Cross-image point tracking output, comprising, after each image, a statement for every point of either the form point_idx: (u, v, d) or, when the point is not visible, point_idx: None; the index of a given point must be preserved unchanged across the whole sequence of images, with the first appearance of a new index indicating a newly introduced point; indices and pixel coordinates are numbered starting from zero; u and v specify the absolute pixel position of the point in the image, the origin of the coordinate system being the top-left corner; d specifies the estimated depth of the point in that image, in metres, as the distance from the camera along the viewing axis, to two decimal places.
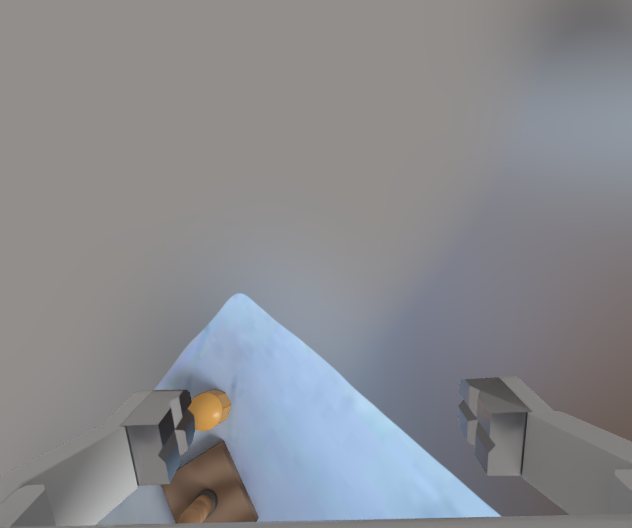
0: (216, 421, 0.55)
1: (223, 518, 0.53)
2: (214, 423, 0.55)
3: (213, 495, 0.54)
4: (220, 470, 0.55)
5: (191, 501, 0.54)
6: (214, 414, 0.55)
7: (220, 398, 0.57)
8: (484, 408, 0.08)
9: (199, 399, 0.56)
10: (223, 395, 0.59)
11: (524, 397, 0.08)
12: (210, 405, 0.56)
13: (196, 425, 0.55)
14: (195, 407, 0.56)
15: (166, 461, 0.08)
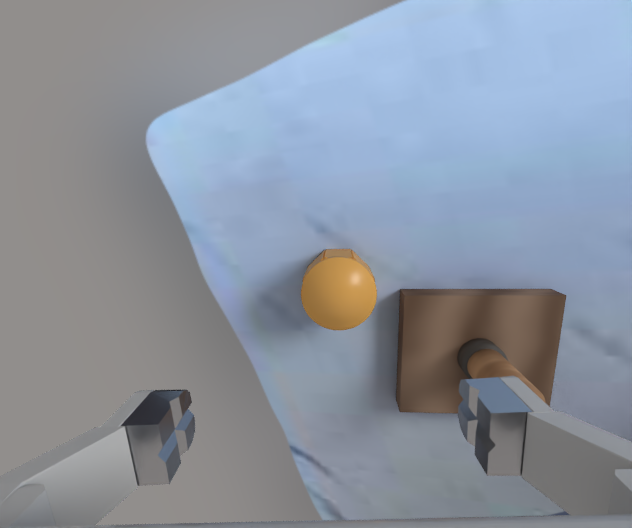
0: (370, 280, 0.25)
1: (521, 342, 0.29)
2: (371, 286, 0.25)
3: (480, 342, 0.28)
4: (447, 314, 0.28)
5: None
6: (355, 278, 0.25)
7: (331, 256, 0.26)
8: (484, 408, 0.08)
9: (310, 293, 0.26)
10: (328, 252, 0.28)
11: (524, 397, 0.08)
12: (334, 278, 0.25)
13: (354, 319, 0.26)
14: (321, 307, 0.26)
15: (166, 461, 0.08)
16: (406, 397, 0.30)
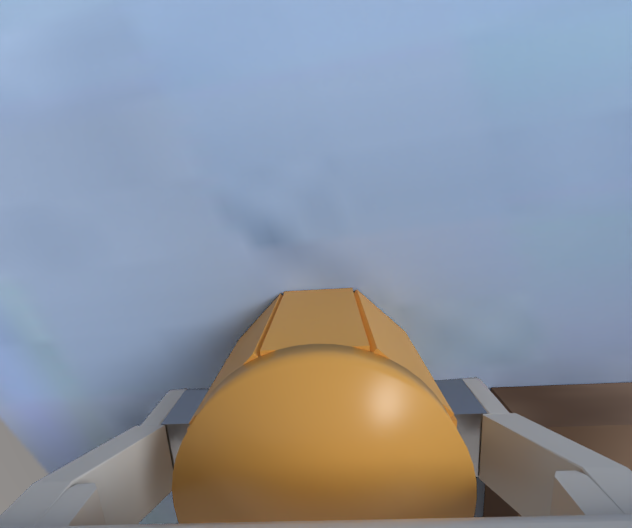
0: (450, 448, 0.06)
1: None
2: (454, 466, 0.06)
3: None
4: None
5: None
6: (387, 441, 0.06)
7: (290, 338, 0.07)
8: None
9: (212, 500, 0.06)
10: (286, 307, 0.09)
11: (482, 398, 0.08)
12: (300, 443, 0.06)
13: None
14: None
15: None
16: None
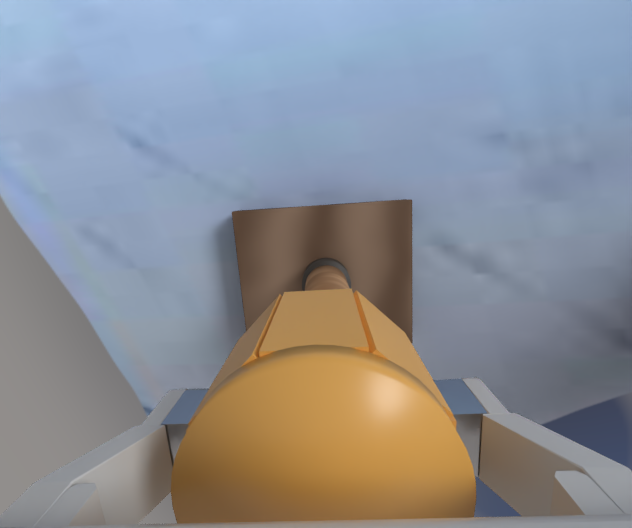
0: (450, 449, 0.06)
1: (370, 259, 0.25)
2: (454, 467, 0.06)
3: (320, 260, 0.24)
4: (284, 231, 0.25)
5: None
6: (387, 443, 0.06)
7: (289, 339, 0.07)
8: None
9: (211, 501, 0.06)
10: (286, 308, 0.09)
11: (482, 398, 0.08)
12: (299, 445, 0.06)
13: None
14: None
15: None
16: None
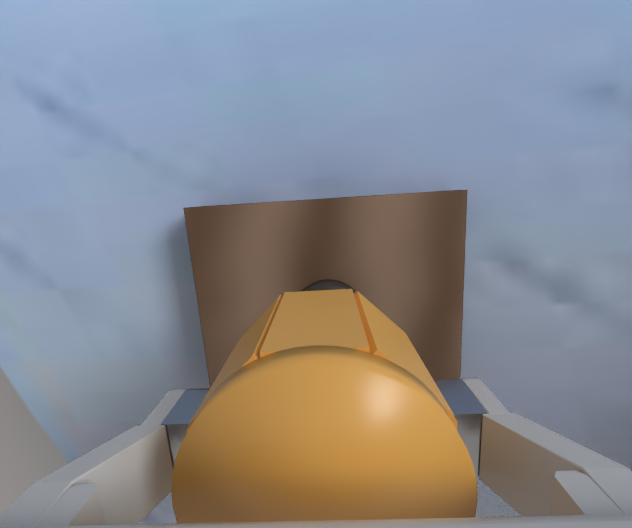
0: (451, 450, 0.06)
1: (398, 282, 0.16)
2: (455, 468, 0.06)
3: (319, 285, 0.15)
4: (265, 239, 0.16)
5: None
6: (388, 443, 0.06)
7: (290, 340, 0.07)
8: None
9: (211, 502, 0.06)
10: (286, 308, 0.09)
11: (482, 398, 0.08)
12: (300, 445, 0.06)
13: None
14: None
15: None
16: None
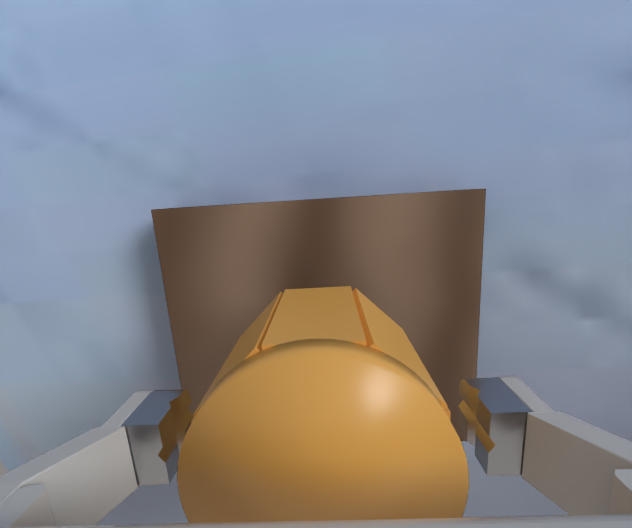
0: (443, 437, 0.06)
1: (404, 296, 0.14)
2: (447, 455, 0.06)
3: None
4: (247, 246, 0.14)
5: None
6: (383, 431, 0.06)
7: (290, 334, 0.07)
8: (484, 408, 0.08)
9: (215, 488, 0.07)
10: (286, 305, 0.09)
11: (524, 397, 0.08)
12: (300, 433, 0.06)
13: None
14: None
15: (166, 461, 0.08)
16: None
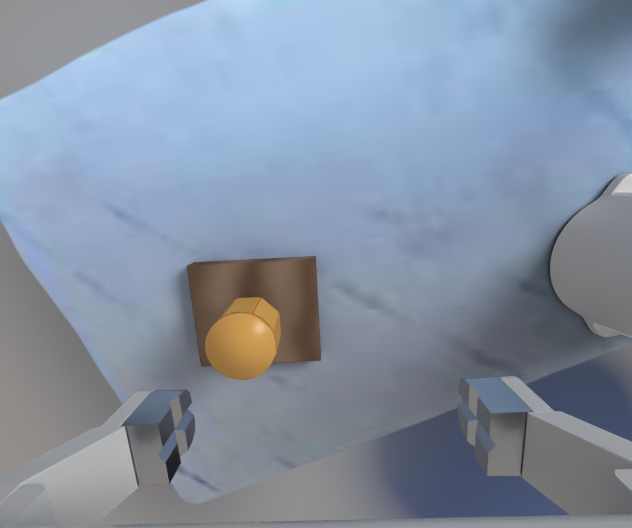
0: (268, 334, 0.27)
1: (288, 300, 0.35)
2: (269, 338, 0.27)
3: None
4: (225, 280, 0.34)
5: None
6: (254, 332, 0.27)
7: (234, 310, 0.28)
8: (484, 408, 0.08)
9: (214, 348, 0.28)
10: (235, 303, 0.30)
11: (524, 397, 0.08)
12: (234, 333, 0.27)
13: (257, 369, 0.28)
14: (225, 360, 0.28)
15: (166, 461, 0.08)
16: (204, 353, 0.36)
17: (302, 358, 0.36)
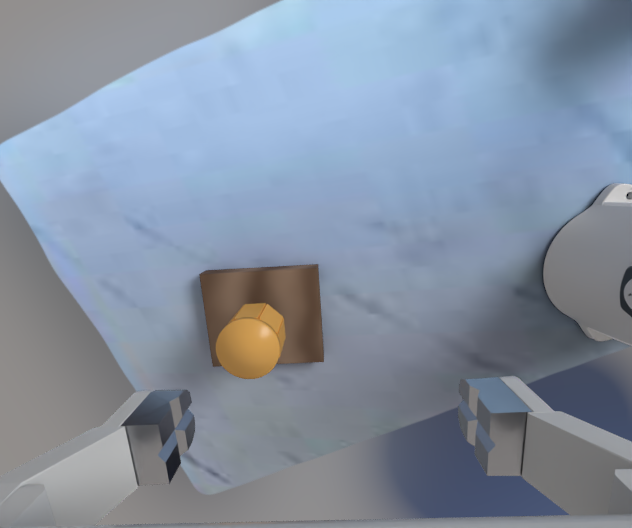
0: (272, 337, 0.30)
1: (292, 305, 0.37)
2: (273, 341, 0.30)
3: None
4: (234, 287, 0.37)
5: None
6: (259, 336, 0.30)
7: (241, 316, 0.31)
8: (484, 408, 0.08)
9: (224, 350, 0.30)
10: (243, 309, 0.33)
11: (524, 397, 0.08)
12: (242, 337, 0.30)
13: (262, 369, 0.31)
14: (234, 361, 0.31)
15: (166, 461, 0.08)
16: (215, 354, 0.39)
17: (306, 359, 0.39)
